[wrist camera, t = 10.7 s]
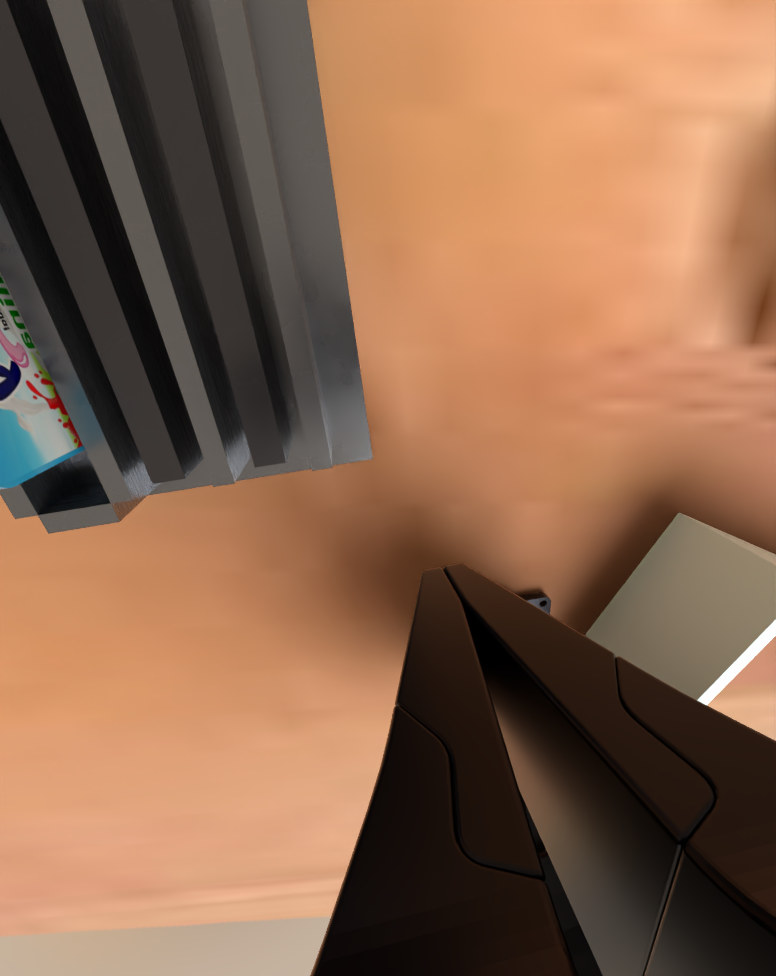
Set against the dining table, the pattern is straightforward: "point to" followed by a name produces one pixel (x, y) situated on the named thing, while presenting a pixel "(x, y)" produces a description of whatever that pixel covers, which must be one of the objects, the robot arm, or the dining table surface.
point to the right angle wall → (693, 609)
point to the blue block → (28, 404)
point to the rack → (174, 247)
